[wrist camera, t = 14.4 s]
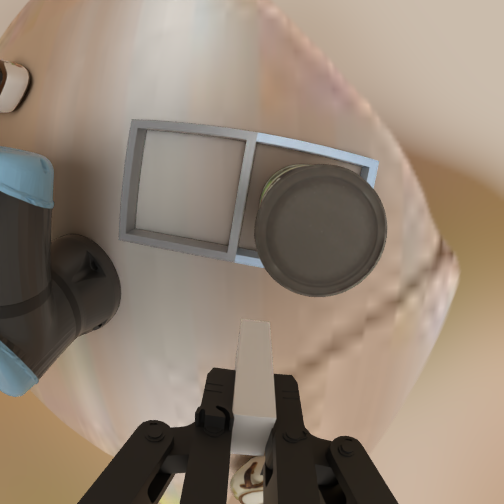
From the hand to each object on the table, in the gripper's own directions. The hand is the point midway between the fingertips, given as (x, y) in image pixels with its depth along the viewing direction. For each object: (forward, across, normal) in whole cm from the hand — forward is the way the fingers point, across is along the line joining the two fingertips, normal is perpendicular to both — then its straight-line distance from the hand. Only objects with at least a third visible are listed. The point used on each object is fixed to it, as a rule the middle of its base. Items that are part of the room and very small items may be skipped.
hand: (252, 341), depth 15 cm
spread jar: (+24, -46, +20) cm, 55 cm away
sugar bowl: (+21, +10, -49) cm, 54 cm away
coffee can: (+22, +5, +5) cm, 23 cm away
